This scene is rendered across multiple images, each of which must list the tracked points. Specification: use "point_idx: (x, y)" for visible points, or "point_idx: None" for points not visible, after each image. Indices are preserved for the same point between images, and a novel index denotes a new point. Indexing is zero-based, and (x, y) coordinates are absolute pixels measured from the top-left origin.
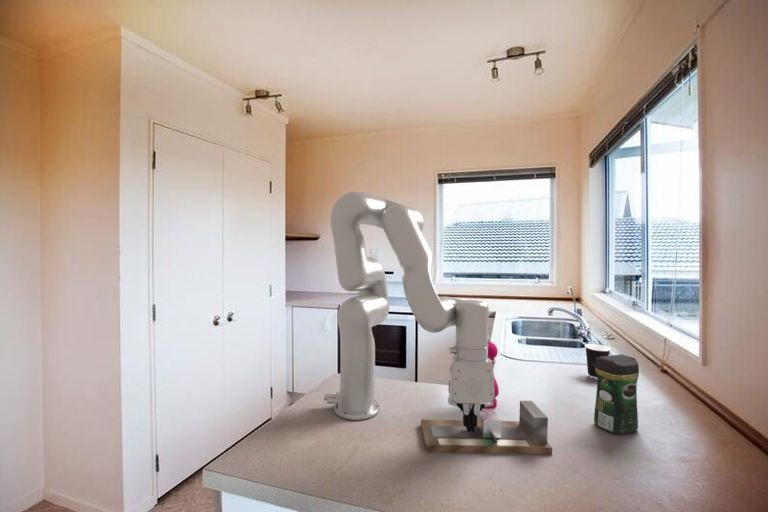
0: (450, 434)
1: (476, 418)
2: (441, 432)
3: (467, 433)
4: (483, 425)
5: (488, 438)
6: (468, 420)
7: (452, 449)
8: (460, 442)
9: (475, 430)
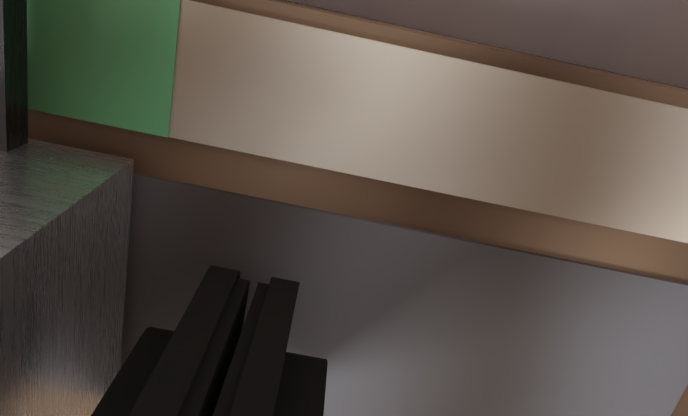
0: (504, 308)
1: (109, 407)
2: (587, 360)
3: None
4: (49, 228)
5: None
6: (276, 379)
7: (589, 69)
8: (476, 119)
9: None
